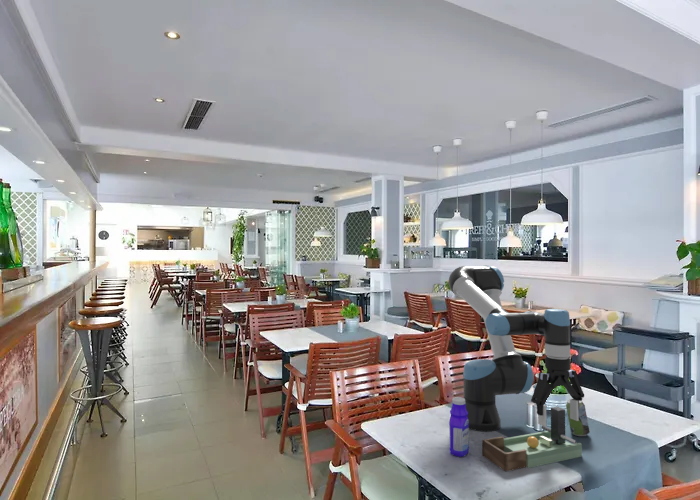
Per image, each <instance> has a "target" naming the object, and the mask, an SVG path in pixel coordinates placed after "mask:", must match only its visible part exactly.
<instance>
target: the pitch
mask: <svg viewBox="0 0 700 500" xmlns="http://www.w3.org/2000/svg"><path fill="white" fill-rule="evenodd" d="M530 436H534V437H536V438H537V439H538V441H539V445H538V447H537V448H531V447H529V446H528V444H527V439H528V438H529V437H530ZM540 436H544V437H546V438H548V439H551V433H550V432H548V431H546V430H543V431H539V432H531V433H528V434H521V435H516V436H511V437H506V438H504V452H505V453H507V452H512V451H518V450H523V449H525V450H527V467H526V468H527V469H530V468H534V467H538V466H544V465H548V464H553V463H557V462H563V461H567V460H572V459H578V458H581V457H583V449H582V447H583V444H582V443H581V442H576V444H573V443H571V442H569V441H567V440H565V443H564V444H559V445H558V444H552V447H548V446H546V445H544V444H543V443H541V442H540Z"/></svg>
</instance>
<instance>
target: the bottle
mask: <svg viewBox="0 0 700 500" xmlns="http://www.w3.org/2000/svg"><path fill="white" fill-rule="evenodd" d="M451 404H452V406H451V409H450V410H449V413H450V417H449V423H448V424H449V426H448V427H449V448H448V449H449V453H450V454H451V455H452V456H455V457H459V458H460V457H461V458H462V457H466V455H467V454H468V453H469V451H470V437H469V435H470V432H469V431H470V429H469V420H468V417H467V415H468V412H467V410H466V406H465V399H464V397H461V396H460V397H459V396H455V397H453V398H452V403H451Z"/></svg>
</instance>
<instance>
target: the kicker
mask: <svg viewBox="0 0 700 500" xmlns="http://www.w3.org/2000/svg"><path fill="white" fill-rule="evenodd" d="M541 429H542V430H543V431H548V432H550V433H551V439H548V438H546V437H544V436H540V442H541V443H543V444H544V445H546V446H548V447H552V444H558V445H559V444H564V443H565V441H567V442H569V443H571V444H576V443H577V440H576V439H573V438H571V437H569V436H567V435H566V409H565V408H562V407H559V406H556V407H550V427H548V426H547V425H546V426H542V425H541Z"/></svg>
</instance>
